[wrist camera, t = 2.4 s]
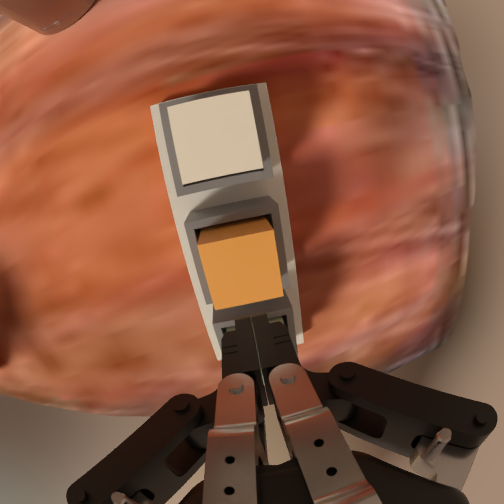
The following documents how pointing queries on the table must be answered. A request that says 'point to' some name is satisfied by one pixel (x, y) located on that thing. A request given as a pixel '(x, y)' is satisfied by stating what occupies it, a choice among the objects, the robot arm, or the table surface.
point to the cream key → (215, 136)
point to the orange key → (240, 262)
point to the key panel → (233, 214)
